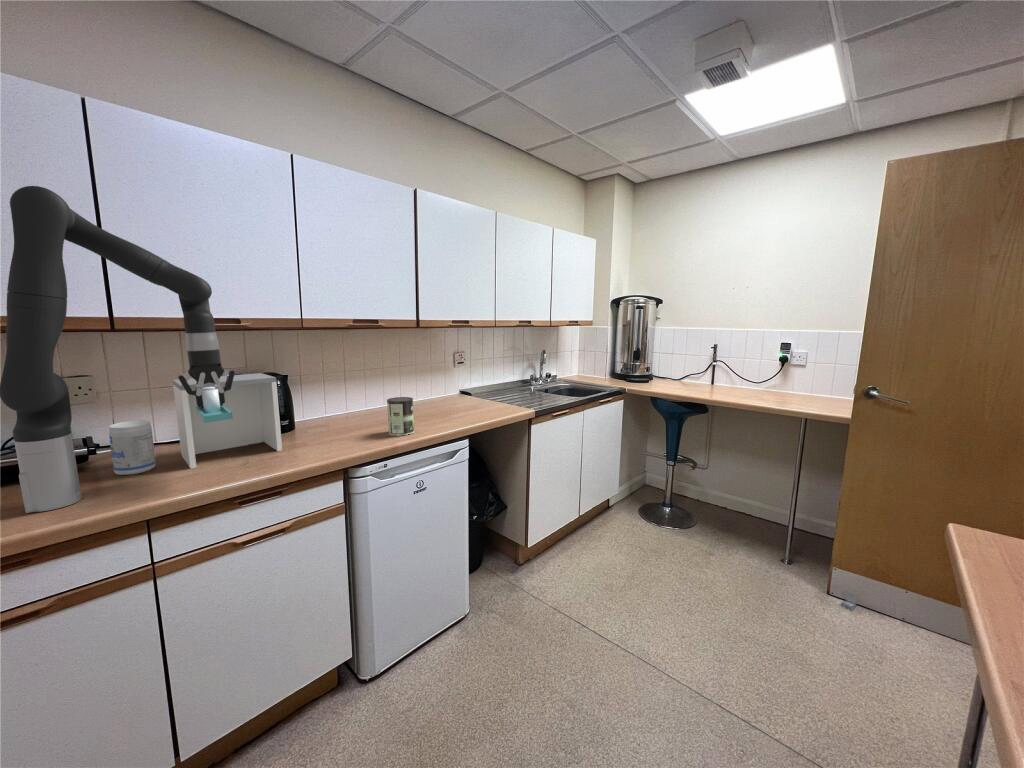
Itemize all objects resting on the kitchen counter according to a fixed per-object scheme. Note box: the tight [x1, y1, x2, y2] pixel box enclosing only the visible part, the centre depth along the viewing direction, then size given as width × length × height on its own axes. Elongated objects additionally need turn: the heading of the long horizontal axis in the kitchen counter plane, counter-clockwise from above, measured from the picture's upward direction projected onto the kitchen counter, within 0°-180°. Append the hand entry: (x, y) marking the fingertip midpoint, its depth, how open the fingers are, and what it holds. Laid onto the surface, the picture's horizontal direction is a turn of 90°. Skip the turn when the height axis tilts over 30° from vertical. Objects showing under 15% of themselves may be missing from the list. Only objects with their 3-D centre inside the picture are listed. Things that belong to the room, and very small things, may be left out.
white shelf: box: [172, 372, 283, 469], centre depth 142 cm, size 26×18×26 cm
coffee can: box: [386, 396, 415, 437], centre depth 169 cm, size 10×10×14 cm
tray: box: [196, 387, 233, 423], centre depth 120 cm, size 18×6×8 cm, turn 43°
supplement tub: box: [108, 420, 156, 476], centre depth 126 cm, size 10×10×15 cm
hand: (211, 406), depth 122 cm, fingers closed on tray, 4 cm apart
